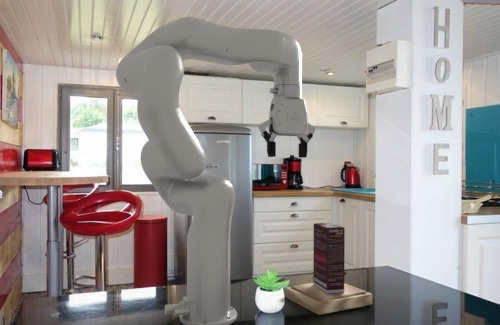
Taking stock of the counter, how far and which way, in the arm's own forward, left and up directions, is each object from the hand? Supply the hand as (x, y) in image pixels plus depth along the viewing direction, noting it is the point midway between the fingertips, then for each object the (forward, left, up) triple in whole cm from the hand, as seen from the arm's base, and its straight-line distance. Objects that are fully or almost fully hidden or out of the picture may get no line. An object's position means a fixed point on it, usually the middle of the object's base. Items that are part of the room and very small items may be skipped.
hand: (287, 157), depth 110 cm
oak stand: (+5, -11, -36) cm, 38 cm away
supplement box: (+5, -11, -33) cm, 35 cm away
